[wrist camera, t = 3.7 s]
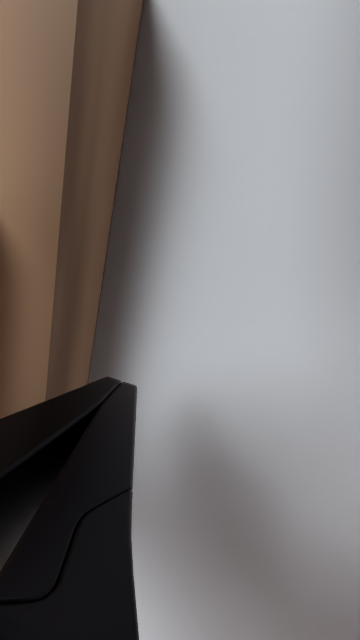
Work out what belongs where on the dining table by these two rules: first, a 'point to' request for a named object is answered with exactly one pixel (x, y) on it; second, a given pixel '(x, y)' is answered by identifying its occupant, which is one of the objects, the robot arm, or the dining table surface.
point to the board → (57, 183)
